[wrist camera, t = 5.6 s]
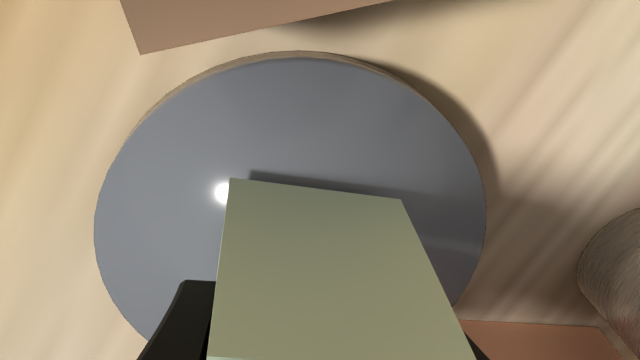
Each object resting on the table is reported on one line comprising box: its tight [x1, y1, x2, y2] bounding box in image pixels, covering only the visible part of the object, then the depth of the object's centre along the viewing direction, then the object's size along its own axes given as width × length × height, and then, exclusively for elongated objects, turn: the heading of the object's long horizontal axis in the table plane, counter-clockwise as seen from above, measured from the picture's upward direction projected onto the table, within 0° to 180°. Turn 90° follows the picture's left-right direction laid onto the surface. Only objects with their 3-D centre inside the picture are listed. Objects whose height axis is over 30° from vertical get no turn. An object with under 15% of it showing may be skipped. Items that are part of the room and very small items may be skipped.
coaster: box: [94, 51, 486, 341], centre depth 13 cm, size 10×10×1 cm
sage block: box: [206, 177, 477, 360], centre depth 10 cm, size 4×4×5 cm
